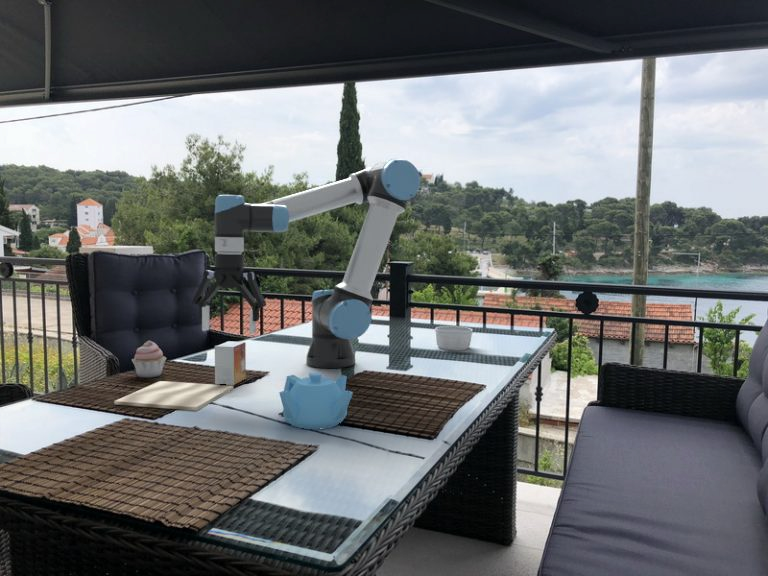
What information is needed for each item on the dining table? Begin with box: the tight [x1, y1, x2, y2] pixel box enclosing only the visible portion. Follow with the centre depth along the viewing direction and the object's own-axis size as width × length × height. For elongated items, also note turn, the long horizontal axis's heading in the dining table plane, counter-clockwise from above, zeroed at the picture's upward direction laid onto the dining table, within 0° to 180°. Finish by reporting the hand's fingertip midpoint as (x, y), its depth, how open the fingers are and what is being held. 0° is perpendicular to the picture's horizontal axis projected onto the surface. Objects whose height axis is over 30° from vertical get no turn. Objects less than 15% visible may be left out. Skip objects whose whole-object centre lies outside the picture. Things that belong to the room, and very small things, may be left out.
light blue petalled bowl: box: [279, 372, 354, 430], centre depth 139 cm, size 15×15×11 cm
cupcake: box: [131, 340, 167, 379], centre depth 178 cm, size 9×9×10 cm
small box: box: [214, 340, 247, 386], centre depth 172 cm, size 8×6×10 cm
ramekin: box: [434, 325, 474, 351], centre depth 225 cm, size 13×13×7 cm
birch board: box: [113, 380, 234, 411], centre depth 157 cm, size 21×20×1 cm
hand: (228, 331), depth 171 cm, fingers open, 13 cm apart
